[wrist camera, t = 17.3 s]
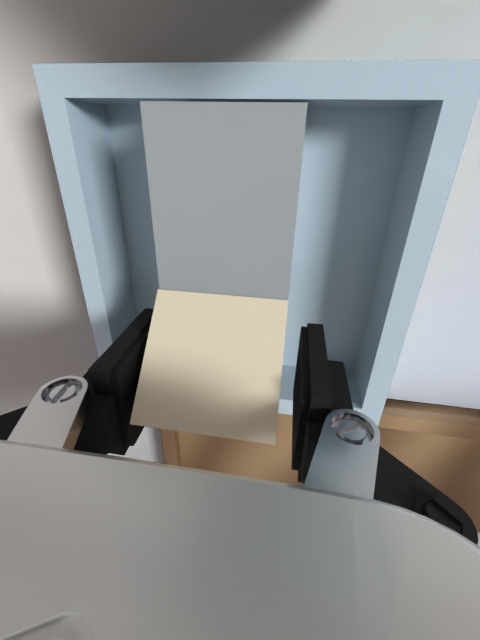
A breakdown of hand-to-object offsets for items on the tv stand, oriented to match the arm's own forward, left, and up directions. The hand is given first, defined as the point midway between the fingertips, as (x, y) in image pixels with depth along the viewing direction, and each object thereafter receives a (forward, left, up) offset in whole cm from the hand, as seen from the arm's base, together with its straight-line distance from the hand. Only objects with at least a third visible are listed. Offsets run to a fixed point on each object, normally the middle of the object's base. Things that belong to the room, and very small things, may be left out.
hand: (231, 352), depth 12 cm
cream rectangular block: (0, +2, -1) cm, 2 cm away
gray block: (0, -8, -1) cm, 8 cm away
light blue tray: (0, -3, -4) cm, 4 cm away
